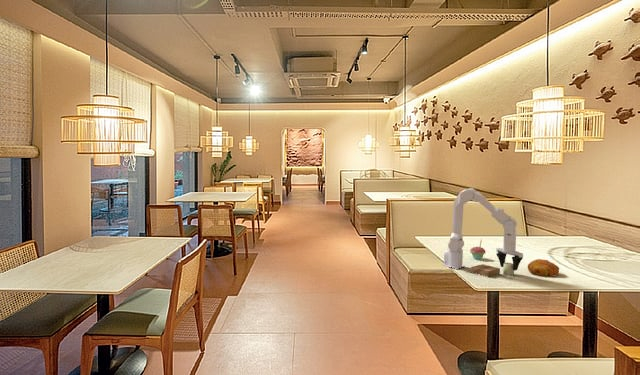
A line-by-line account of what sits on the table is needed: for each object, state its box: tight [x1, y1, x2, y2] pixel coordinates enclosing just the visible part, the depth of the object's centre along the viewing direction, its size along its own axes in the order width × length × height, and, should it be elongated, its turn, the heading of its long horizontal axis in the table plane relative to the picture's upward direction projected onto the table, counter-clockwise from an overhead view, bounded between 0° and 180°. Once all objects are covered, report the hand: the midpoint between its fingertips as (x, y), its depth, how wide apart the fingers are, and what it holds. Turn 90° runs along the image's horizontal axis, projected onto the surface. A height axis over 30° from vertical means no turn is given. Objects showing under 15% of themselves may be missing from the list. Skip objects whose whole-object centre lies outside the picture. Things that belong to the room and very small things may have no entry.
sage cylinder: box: [502, 262, 515, 277], centre depth 215 cm, size 5×5×6 cm
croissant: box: [527, 258, 560, 278], centre depth 217 cm, size 14×16×8 cm
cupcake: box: [469, 238, 486, 260], centre depth 247 cm, size 9×8×12 cm
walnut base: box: [470, 263, 501, 278], centre depth 217 cm, size 10×10×3 cm
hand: (508, 268), depth 215 cm, fingers open, 7 cm apart
